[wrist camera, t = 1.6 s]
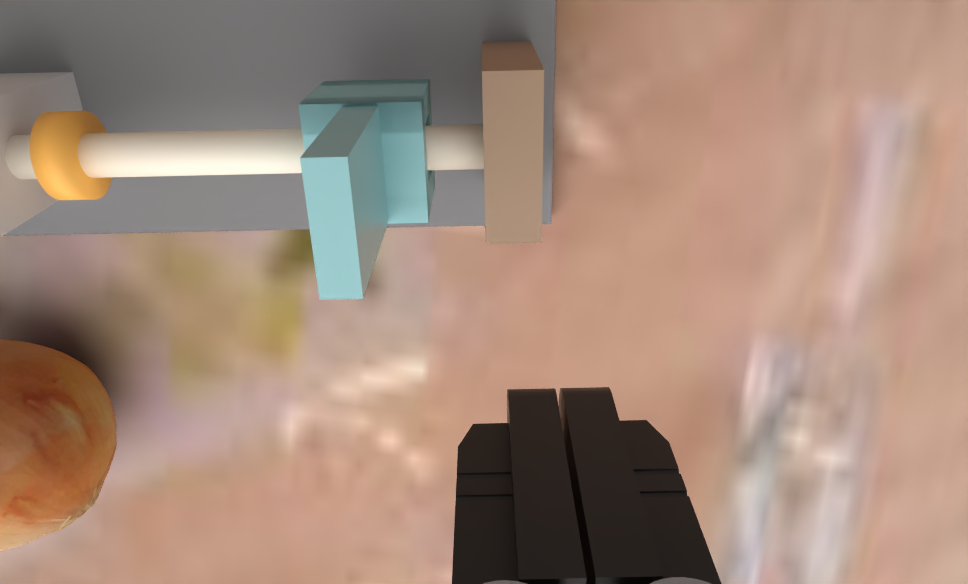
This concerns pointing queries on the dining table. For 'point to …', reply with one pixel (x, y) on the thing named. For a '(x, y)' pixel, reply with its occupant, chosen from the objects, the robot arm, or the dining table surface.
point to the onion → (49, 441)
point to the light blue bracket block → (362, 173)
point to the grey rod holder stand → (261, 109)
